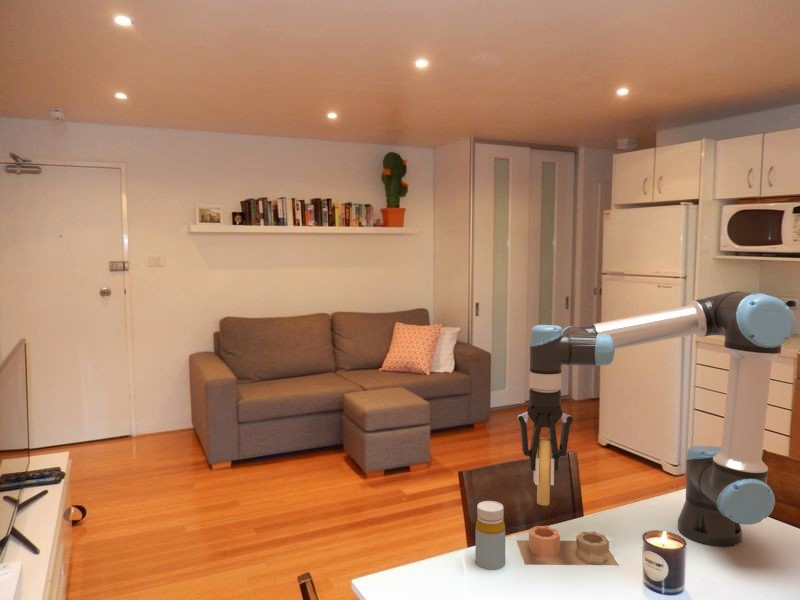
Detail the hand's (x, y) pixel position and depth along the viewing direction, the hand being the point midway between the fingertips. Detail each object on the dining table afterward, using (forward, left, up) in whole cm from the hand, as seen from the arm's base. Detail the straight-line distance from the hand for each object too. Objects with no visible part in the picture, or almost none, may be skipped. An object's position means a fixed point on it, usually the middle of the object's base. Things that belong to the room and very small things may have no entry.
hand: (543, 482), depth 148 cm
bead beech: (-11, +3, -17) cm, 21 cm away
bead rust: (0, 0, -17) cm, 17 cm away
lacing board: (-5, +1, -18) cm, 19 cm away
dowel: (0, 0, -5) cm, 5 cm away
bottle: (+14, +6, -19) cm, 24 cm away
